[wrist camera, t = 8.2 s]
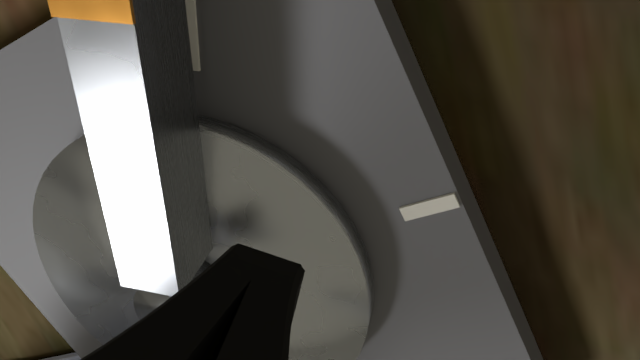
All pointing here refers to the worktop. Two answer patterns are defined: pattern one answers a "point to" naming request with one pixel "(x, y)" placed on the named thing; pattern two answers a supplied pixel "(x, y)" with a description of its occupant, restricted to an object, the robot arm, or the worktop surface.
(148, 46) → the dial
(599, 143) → the worktop surface
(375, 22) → the dial plate
